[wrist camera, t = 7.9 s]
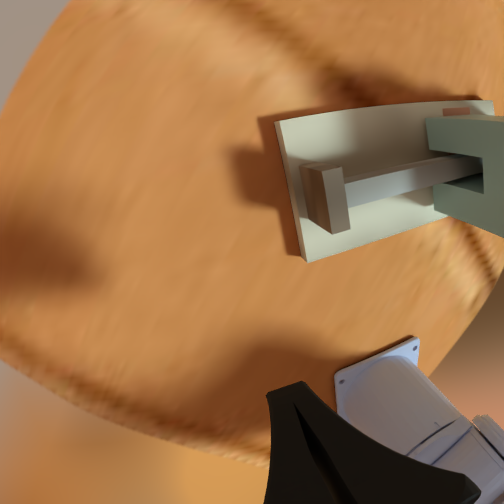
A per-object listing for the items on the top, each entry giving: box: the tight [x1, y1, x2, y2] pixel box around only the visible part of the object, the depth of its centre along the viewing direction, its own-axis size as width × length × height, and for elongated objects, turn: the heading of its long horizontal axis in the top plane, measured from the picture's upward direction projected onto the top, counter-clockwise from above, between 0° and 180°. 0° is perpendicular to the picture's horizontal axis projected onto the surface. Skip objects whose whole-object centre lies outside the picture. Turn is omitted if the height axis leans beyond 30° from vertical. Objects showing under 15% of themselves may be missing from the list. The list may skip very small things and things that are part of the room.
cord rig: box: [274, 100, 495, 263], centre depth 16 cm, size 8×18×6 cm, turn 103°
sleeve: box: [425, 114, 504, 238], centre depth 15 cm, size 6×5×6 cm
